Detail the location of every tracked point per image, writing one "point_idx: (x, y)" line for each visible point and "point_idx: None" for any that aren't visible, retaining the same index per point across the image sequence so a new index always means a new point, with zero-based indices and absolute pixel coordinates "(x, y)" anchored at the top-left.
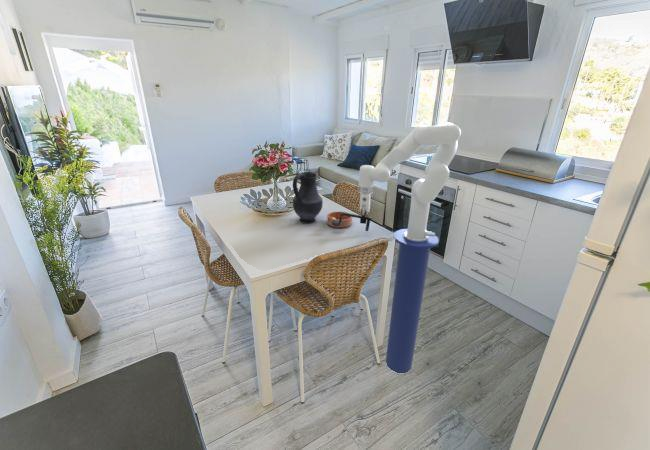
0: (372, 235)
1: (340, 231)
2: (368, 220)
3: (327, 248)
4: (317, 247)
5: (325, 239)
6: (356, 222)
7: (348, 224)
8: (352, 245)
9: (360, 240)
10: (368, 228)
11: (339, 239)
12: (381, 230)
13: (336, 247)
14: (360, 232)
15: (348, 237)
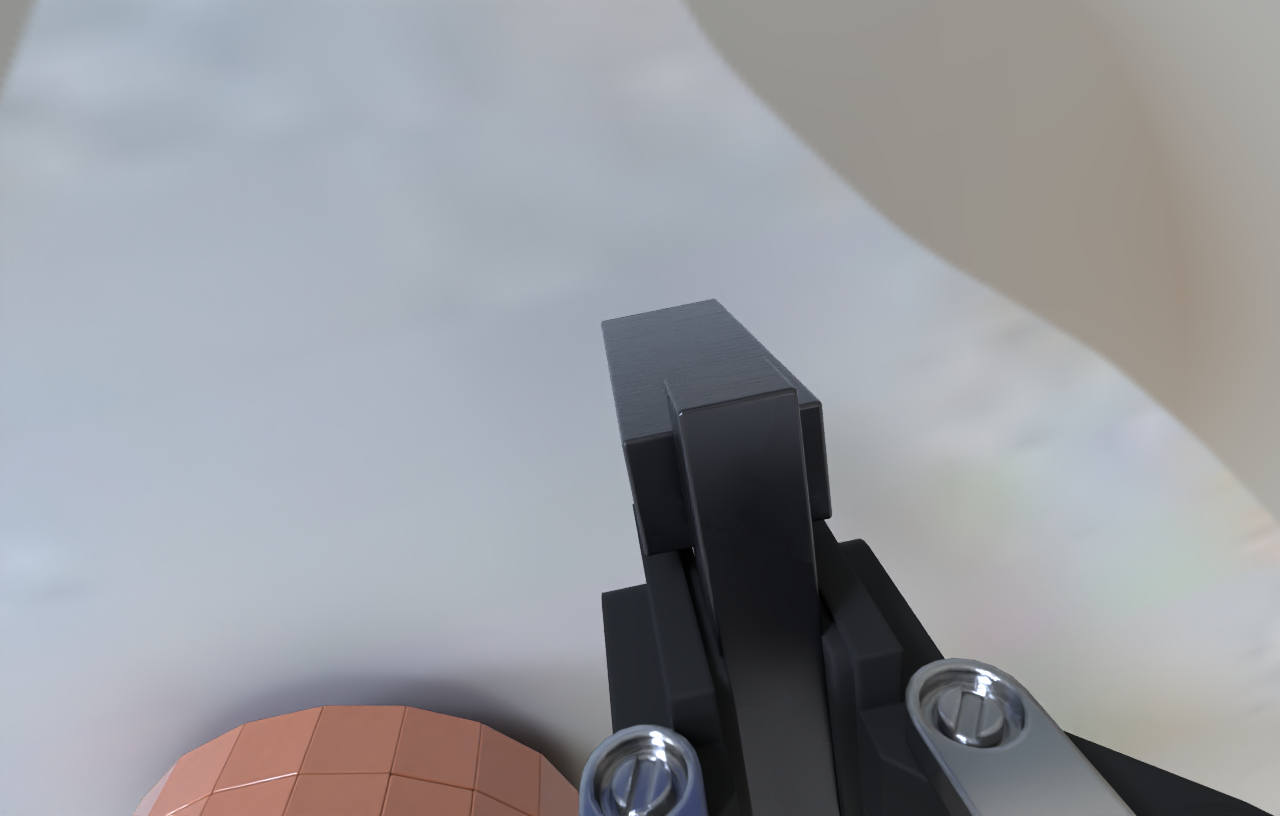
0: (581, 176)
1: None
2: (824, 461)
3: (1260, 650)
4: (1231, 741)
5: None
6: (68, 665)
7: (445, 746)
8: (1150, 403)
9: (919, 342)
10: (733, 320)
11: (952, 634)
12: (116, 12)
13: (1229, 574)
14: (537, 453)
15: None
